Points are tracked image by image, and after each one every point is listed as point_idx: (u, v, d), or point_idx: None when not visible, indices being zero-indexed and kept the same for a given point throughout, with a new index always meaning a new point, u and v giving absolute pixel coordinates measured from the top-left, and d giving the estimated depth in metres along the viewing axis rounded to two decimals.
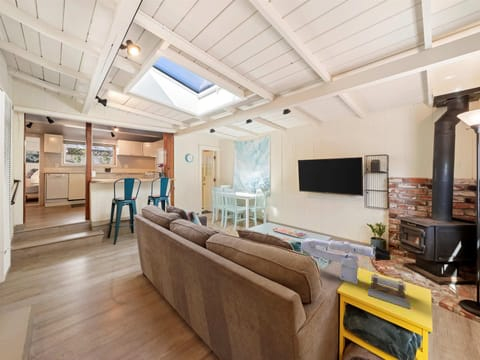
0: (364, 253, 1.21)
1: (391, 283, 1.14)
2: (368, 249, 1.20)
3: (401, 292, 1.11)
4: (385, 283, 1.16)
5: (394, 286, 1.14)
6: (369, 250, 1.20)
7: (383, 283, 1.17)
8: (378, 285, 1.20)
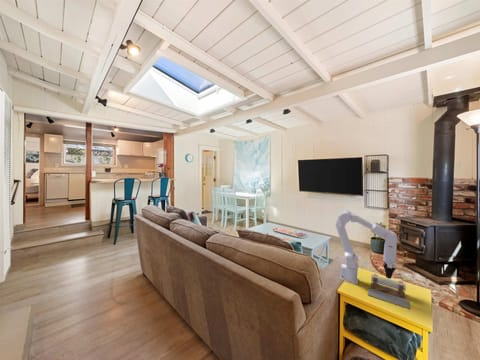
0: (388, 255, 1.14)
1: (391, 283, 1.14)
2: (393, 259, 1.13)
3: (401, 292, 1.11)
4: (385, 283, 1.16)
5: (394, 286, 1.14)
6: (393, 260, 1.13)
7: (383, 283, 1.17)
8: (378, 285, 1.20)
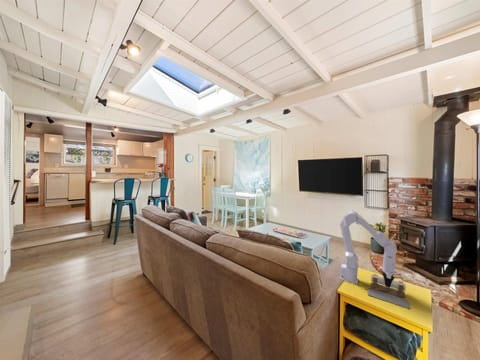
0: (387, 265, 1.14)
1: (391, 283, 1.14)
2: (393, 269, 1.13)
3: (401, 292, 1.11)
4: None
5: (394, 286, 1.14)
6: (392, 270, 1.13)
7: (383, 283, 1.17)
8: (378, 285, 1.20)
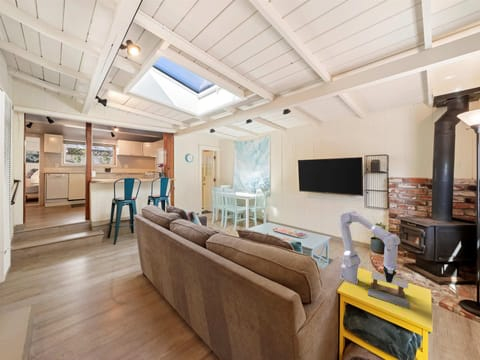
0: (388, 259, 1.07)
1: (393, 280, 1.07)
2: (394, 264, 1.06)
3: (401, 292, 1.11)
4: None
5: (396, 283, 1.06)
6: (393, 265, 1.06)
7: (384, 280, 1.09)
8: (378, 285, 1.20)
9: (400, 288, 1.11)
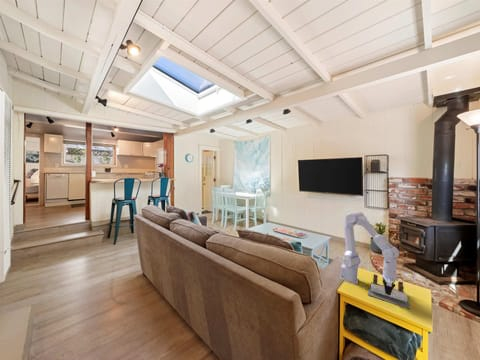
0: (387, 272, 1.08)
1: (392, 293, 1.08)
2: (393, 276, 1.07)
3: None
4: (385, 293, 1.09)
5: (395, 296, 1.07)
6: (392, 277, 1.07)
7: (383, 293, 1.10)
8: None
9: (400, 288, 1.11)
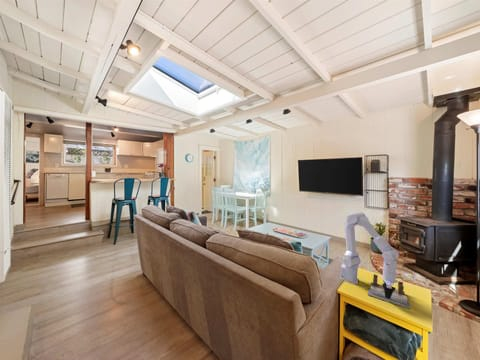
0: (387, 274, 1.08)
1: None
2: (393, 278, 1.07)
3: (401, 292, 1.11)
4: None
5: (395, 299, 1.07)
6: (392, 279, 1.07)
7: (383, 295, 1.10)
8: (378, 285, 1.20)
9: (400, 288, 1.11)
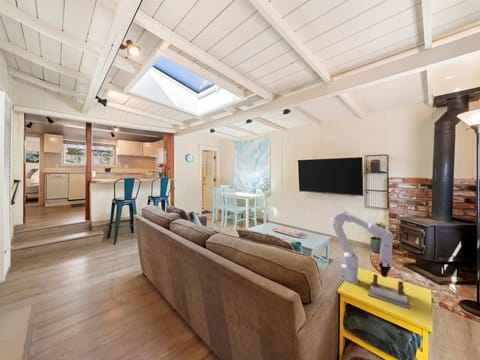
0: (383, 254, 1.15)
1: (391, 295, 1.08)
2: (389, 258, 1.14)
3: (401, 292, 1.11)
4: (385, 295, 1.09)
5: (395, 299, 1.07)
6: (388, 259, 1.14)
7: (383, 295, 1.10)
8: (378, 285, 1.20)
9: (400, 288, 1.11)
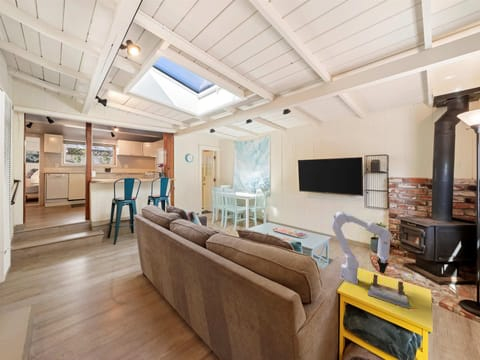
0: (381, 250, 1.19)
1: (391, 295, 1.08)
2: (387, 254, 1.18)
3: (401, 292, 1.11)
4: (385, 295, 1.09)
5: (395, 299, 1.07)
6: (386, 255, 1.18)
7: (383, 295, 1.10)
8: (378, 285, 1.20)
9: (400, 288, 1.11)
